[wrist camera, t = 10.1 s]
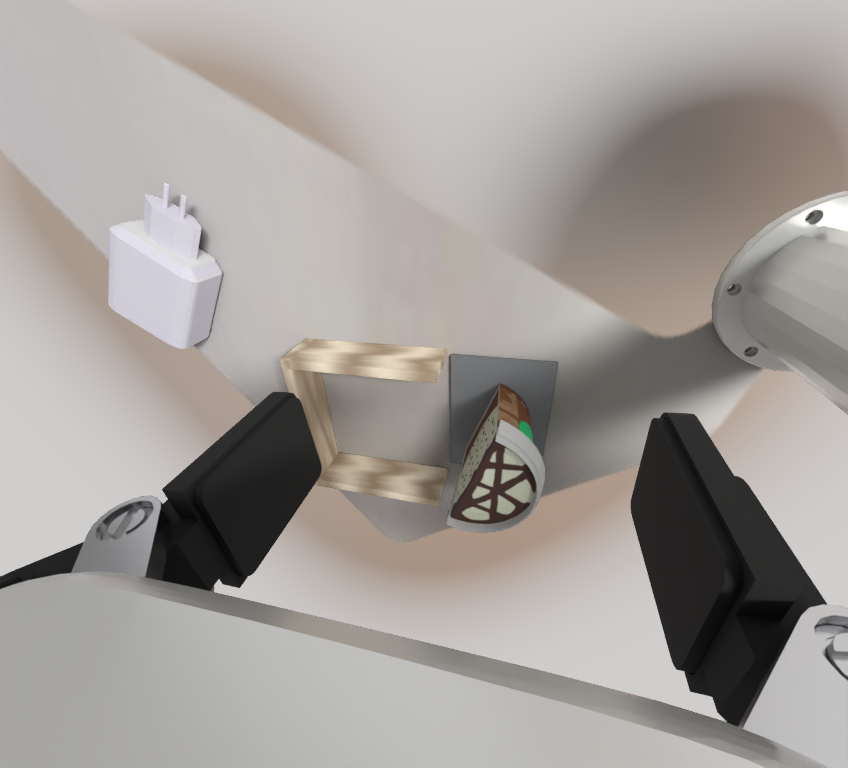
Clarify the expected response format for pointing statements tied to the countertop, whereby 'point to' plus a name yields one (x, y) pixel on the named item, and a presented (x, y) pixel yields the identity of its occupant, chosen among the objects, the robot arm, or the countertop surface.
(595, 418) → the countertop surface
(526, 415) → the food container
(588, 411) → the countertop surface
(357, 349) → the open box
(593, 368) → the countertop surface
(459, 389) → the mat
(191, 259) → the charger
